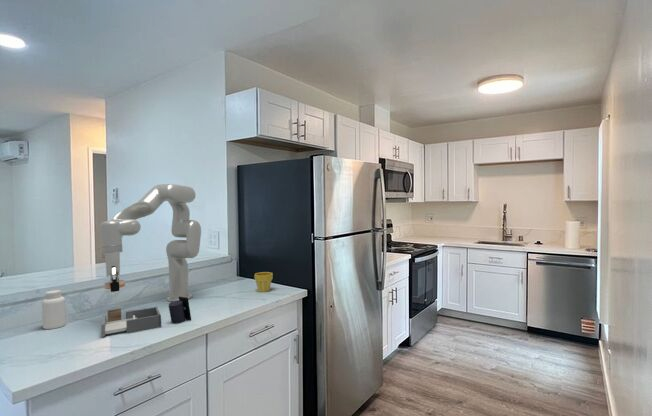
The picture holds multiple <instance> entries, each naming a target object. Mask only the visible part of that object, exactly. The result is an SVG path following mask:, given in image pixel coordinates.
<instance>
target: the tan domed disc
mask: <svg viewBox="0 0 652 416" xmlns="http://www.w3.org/2000/svg"><path fill="white" fill-rule="evenodd" d="M118 281H119V289H120V288H123V287H125V286H126V281H125V280H124V279H119V280H118ZM110 283H111V280H110V281H107V282H105V283H104V289H105V290H111V287H110Z"/></svg>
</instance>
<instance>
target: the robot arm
mask: <svg viewBox="0 0 652 416" xmlns="http://www.w3.org/2000/svg"><path fill="white" fill-rule="evenodd" d="M196 195H197V194H196V191H195V189H194V188H192V187H191V186H187V185H180V184H173V183H166V184H156V185H153V187H152V188H150V190H149V191H148V192H147V193H145V194H144V196H142V198H140V199H139V200H138V201H137V202H134V203H133V204H131V205H128V206H127V207H126V208H124V209H122V210H121V211H118V213H117V214H116V215H115V216H113V217H112V219H110V220H106V221H102V222H101V223H100V235H101V248H102V250H101V251H102V252H101V253H102V254H104V256H105V272H106V273H105V274H106V277H107V278H109V276H110V281H111V283H110V287H111V289H110V292H111V293H114V292H119V291H120V288H119V281H118V280H120V278H119V276H120V274H121V273H120V272H121V257H120V256H121V254H120V253H123V252H124V251H123V237H124V236H128V237H129V236H130V237H131V236H135V235H136V234H138V233H140V231H141V224H140V222H139V221H138V219H142V218H145V217H149V216H151V215H152V214H154V213H155V211H157V210H158V209H159V208H160V206H162V204H163V203H164V202H168V204H169V205H170V207H171V208H172V221H171V230H170V231H171V235H172V237H175V238H180V239H175V240H171V241H169V242H168V243H167V244H166V247H165V252H166V256H167V260H168V277H169V279H168V281H169V282H168V283H169V284H168V285H169V296H166V301H168V302H173V301H178V300H179V297H187V298H188V300H190V299H192V297H193V295H192V294H191V293H189V291H190V290H189V287H190V285H189V264H188V261H187V259H194V258H196V257H197V256H198V254H199V252H200V248H201V236H202V227H201V225H200V222H199V221H197V220H195V219H190V207H189V206H188V204H189V203H192V202H194V200H195V199H196V197H197V196H196ZM187 203H188V204H187ZM182 238H183V239H182ZM184 238H185V239H184Z"/></svg>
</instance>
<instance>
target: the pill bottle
mask: <svg viewBox="0 0 652 416" xmlns="http://www.w3.org/2000/svg"><path fill="white" fill-rule="evenodd" d="M44 295H45V296H44V297H45V298H44V299H43V300H42V302H41V313H42V315H41V316H42V328H43V329H44V330H54V329H59V328H62V327H64V326H66V324H67V309H66V308H67V307H66V306H67V304H66V298H65V297H64V296H62V290H60V289H55V290H53V289H52V290H50V291H49V290H48V291H46V292H45V294H44Z"/></svg>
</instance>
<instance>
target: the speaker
mask: <svg viewBox="0 0 652 416" xmlns="http://www.w3.org/2000/svg"><path fill="white" fill-rule="evenodd" d="M189 303H190V302H189V299H188V298H187V297H179V300H178V301H170V303H168V310H169V316H170V321H171V322H170V323H172V324H181V323H182V322H185V320H187V321H192V314H191V309H190V304H189Z"/></svg>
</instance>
